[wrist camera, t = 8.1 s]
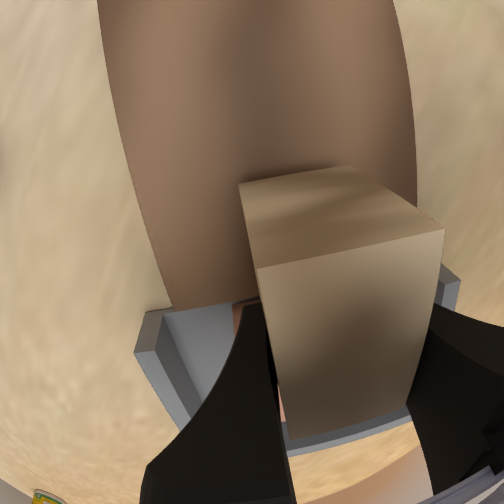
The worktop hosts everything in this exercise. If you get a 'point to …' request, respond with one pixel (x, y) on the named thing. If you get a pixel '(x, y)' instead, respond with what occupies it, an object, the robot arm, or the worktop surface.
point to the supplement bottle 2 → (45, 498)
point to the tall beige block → (341, 292)
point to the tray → (215, 355)
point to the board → (249, 117)
